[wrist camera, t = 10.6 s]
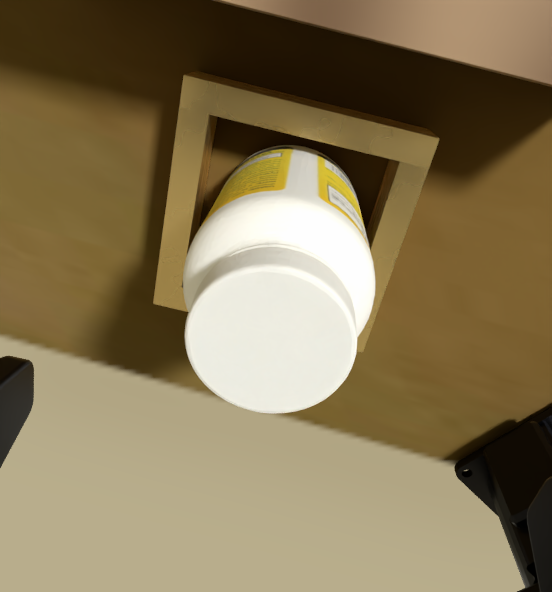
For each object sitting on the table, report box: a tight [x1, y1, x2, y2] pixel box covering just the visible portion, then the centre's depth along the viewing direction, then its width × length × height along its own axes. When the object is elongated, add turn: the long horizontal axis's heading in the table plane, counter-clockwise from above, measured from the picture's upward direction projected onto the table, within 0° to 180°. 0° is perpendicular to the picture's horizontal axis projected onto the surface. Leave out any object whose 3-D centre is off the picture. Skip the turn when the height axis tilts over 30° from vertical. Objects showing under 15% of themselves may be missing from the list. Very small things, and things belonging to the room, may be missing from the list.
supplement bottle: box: [183, 145, 375, 413], centre depth 16 cm, size 5×5×10 cm
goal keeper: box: [153, 71, 440, 352], centre depth 20 cm, size 8×8×2 cm
